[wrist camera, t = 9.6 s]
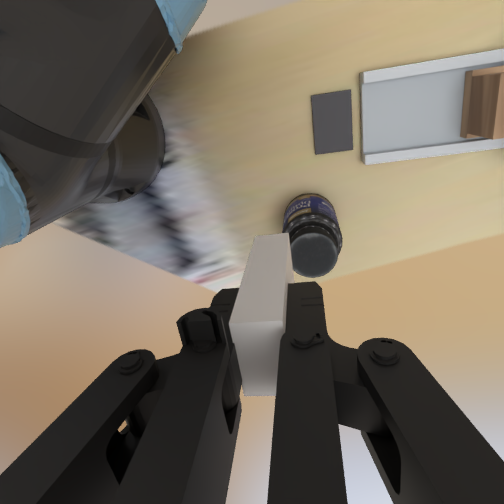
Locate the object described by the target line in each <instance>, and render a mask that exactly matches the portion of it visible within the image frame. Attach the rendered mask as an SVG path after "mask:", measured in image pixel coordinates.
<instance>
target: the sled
mask: <svg viewBox="0 0 504 504" xmlns="http://www.w3.org/2000/svg"><path fill="white" fill-rule="evenodd" d="M460 137H462V138H466V139H469V138H476V137H484V138H488V139H492V140H494V139H502V138H504V65H503V66H496V67H490V68H484V69H478V70H471V71H466V74H465V85H464V97H463V109H462V121H461V133H460Z"/></svg>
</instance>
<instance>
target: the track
mask: <svg viewBox="0 0 504 504" xmlns="http://www.w3.org/2000/svg"><path fill="white" fill-rule="evenodd" d="M503 65H504V49H498V50H492V51H486V52H480V53H474V54H468V55H462V56H456V57H450V58H444V59H438V60H432V61H426V62H420V63H414V64H408V65H402V66H396V67H390V68H384V69H379V70H373V71H367V72H362V73H360V108H361V151H362V162H363V163H364V164H365V165H370V164H378V163H386V162H394V161H402V160H410V159H418V158H426V157H434V156H442V155H451V154H459V153H467V152H475V151H483V150H491V149H499V148H504V138H502V139H494V140H492V139H488V138H484V137H476V138H469V139H466V138H462V137H460V133H461V121H462V109H463V97H464V85H465V74H466V71H471V70H478V69H484V68H490V67H496V66H503Z"/></svg>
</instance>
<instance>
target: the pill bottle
mask: <svg viewBox="0 0 504 504" xmlns="http://www.w3.org/2000/svg"><path fill="white" fill-rule="evenodd" d="M282 233H289V241H290V249H291V258H292V266H293V270H294V271H295V272H296V273H298V274H300V275H302V276H305V277H310V278H315V277H320V276H323V275H325V274H327V273H329V272H330V271H331V270H332V269H333V268H334V266H335V264H336V262H337V259H338V255H339V253H340V251H341V247H342V235H341V231H340V228H339V224H338V221H337V217H336V213H335V210H334V208H333V206H332V204H331V203H330V202H329V201H328V200H327V199H326V198H324V197H323V196H320V195H318V194H303V195H300V196H298V197H297V198H295V199H294V200H293V201H291V203H290V204H289V205H288V207H287V209H286V211H285V216H284V223H283V232H282Z"/></svg>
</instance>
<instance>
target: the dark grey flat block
mask: <svg viewBox="0 0 504 504" xmlns="http://www.w3.org/2000/svg"><path fill="white" fill-rule="evenodd" d="M311 101H312V114H313V128H314V141H315V154H316V155H317V154H324V153H332V152H340V151H347V150H353V136H352V105H351V90H344V91H338V92H332V93H325V94H319V95H313V96H311Z"/></svg>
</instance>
